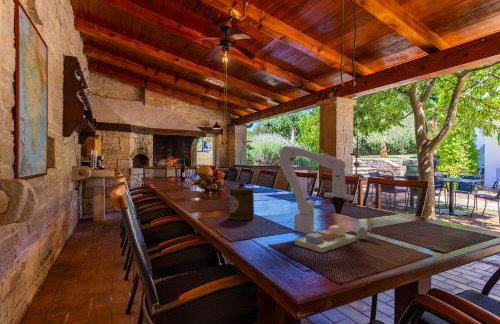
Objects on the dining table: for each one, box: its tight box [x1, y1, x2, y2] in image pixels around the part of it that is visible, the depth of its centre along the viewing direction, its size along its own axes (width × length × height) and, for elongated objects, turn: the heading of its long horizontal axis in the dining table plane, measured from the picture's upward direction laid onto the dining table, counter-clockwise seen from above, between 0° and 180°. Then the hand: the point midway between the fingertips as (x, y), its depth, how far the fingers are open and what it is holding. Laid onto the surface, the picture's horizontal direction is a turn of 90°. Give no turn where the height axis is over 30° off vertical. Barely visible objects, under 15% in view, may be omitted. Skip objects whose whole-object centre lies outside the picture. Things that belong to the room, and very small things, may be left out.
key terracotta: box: [317, 229, 335, 241], centre depth 121 cm, size 5×5×3 cm
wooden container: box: [228, 181, 255, 221], centre depth 169 cm, size 15×15×22 cm
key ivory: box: [328, 224, 346, 236], centre depth 126 cm, size 5×5×3 cm
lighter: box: [356, 221, 375, 240], centre depth 127 cm, size 7×2×8 cm, turn 76°
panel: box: [294, 229, 358, 254], centre depth 121 cm, size 14×25×2 cm, turn 129°
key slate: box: [305, 232, 323, 244], centre depth 116 cm, size 5×5×3 cm
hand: (338, 213), depth 132 cm, fingers closed
